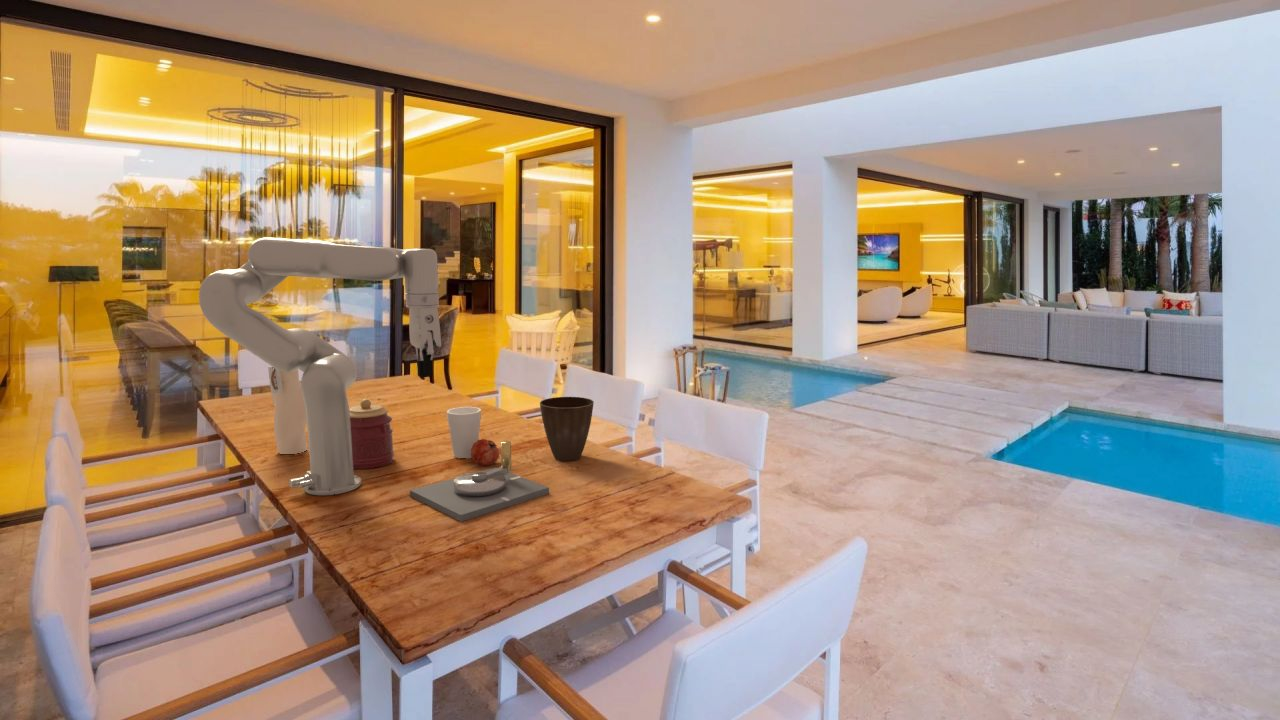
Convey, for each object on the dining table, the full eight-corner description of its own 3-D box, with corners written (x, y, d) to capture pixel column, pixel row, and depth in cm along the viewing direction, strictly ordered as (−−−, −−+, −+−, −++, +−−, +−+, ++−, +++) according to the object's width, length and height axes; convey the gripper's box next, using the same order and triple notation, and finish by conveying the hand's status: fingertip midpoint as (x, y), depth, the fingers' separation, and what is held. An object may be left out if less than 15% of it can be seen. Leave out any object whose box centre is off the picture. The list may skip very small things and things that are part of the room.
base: (462, 522, 144) (461, 514, 144) (410, 496, 159) (409, 489, 159) (550, 493, 161) (550, 487, 161) (495, 472, 177) (495, 466, 176)
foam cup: (462, 462, 185) (460, 416, 183) (441, 456, 191) (439, 411, 189) (489, 454, 193) (488, 409, 191) (468, 448, 198) (467, 405, 196)
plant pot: (535, 452, 195) (534, 398, 192) (585, 447, 200) (585, 394, 197) (547, 467, 181) (546, 409, 178) (600, 462, 186) (600, 405, 184)
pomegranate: (467, 474, 182) (484, 458, 176) (460, 450, 185) (476, 433, 179) (491, 471, 187) (508, 456, 181) (483, 447, 190) (500, 431, 184)
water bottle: (298, 457, 189) (290, 358, 184) (266, 457, 189) (258, 358, 184) (316, 447, 199) (309, 353, 194) (286, 446, 199) (278, 352, 194)
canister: (404, 460, 187) (401, 397, 184) (364, 473, 176) (360, 406, 173) (373, 452, 193) (370, 392, 191) (332, 464, 182) (328, 400, 180)
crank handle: (478, 500, 152) (477, 461, 151) (442, 489, 159) (441, 452, 157) (528, 480, 165) (527, 444, 164) (492, 471, 172) (492, 437, 171)
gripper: (448, 302, 157) (450, 379, 160) (428, 298, 170) (431, 370, 172) (415, 303, 153) (419, 383, 156) (397, 299, 165) (401, 373, 168)
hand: (425, 376), depth 164 cm, fingers closed
